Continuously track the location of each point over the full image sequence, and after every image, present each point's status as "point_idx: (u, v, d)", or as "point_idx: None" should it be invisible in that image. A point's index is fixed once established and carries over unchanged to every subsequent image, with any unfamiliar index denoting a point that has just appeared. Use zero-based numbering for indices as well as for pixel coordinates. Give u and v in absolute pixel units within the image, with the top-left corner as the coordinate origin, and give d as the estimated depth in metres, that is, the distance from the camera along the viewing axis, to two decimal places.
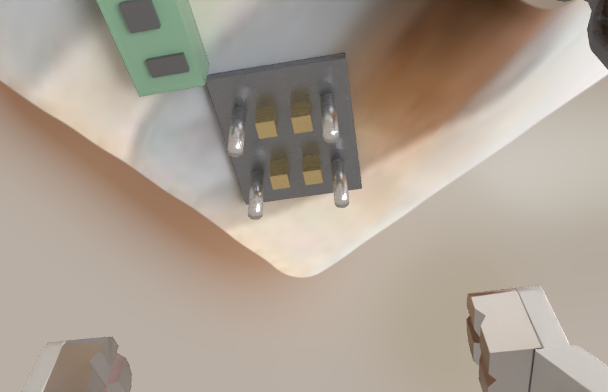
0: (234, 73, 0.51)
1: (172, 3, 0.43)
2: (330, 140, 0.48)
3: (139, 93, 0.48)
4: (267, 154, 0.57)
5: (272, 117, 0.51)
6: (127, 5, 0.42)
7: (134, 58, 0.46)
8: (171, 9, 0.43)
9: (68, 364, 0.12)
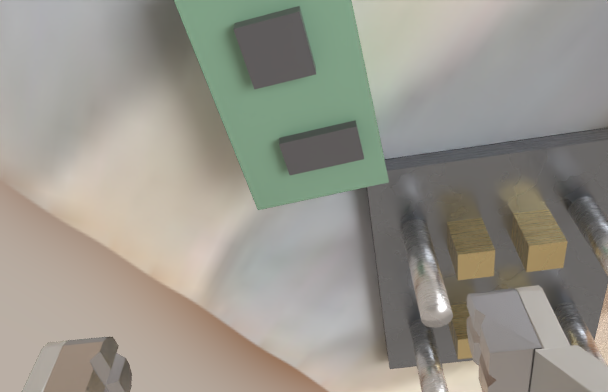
0: (419, 161, 0.27)
1: (345, 19, 0.20)
2: None
3: (258, 204, 0.25)
4: None
5: (488, 242, 0.27)
6: (251, 28, 0.19)
7: (255, 138, 0.23)
8: (342, 32, 0.20)
9: (68, 364, 0.12)
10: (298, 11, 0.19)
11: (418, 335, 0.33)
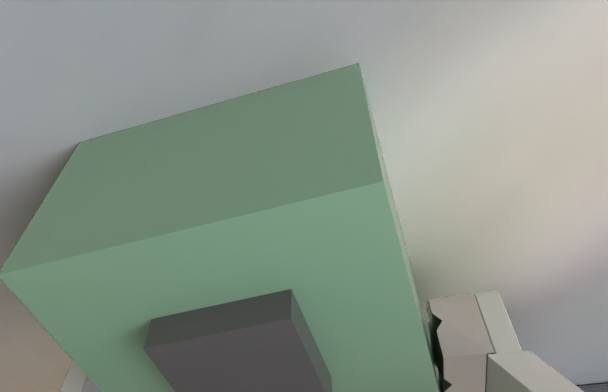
0: None
1: (395, 307, 0.09)
2: None
3: None
4: None
5: None
6: (184, 347, 0.09)
7: None
8: (387, 326, 0.09)
9: None
10: (288, 316, 0.08)
11: None
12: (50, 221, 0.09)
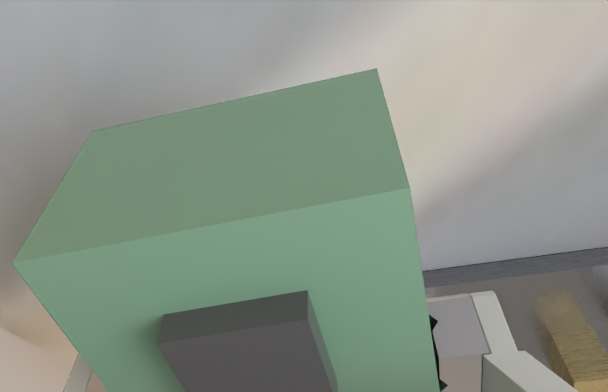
0: (441, 279, 0.23)
1: (407, 312, 0.09)
2: None
3: None
4: None
5: None
6: (197, 344, 0.08)
7: None
8: (397, 331, 0.09)
9: None
10: (305, 317, 0.08)
11: None
12: (64, 212, 0.09)
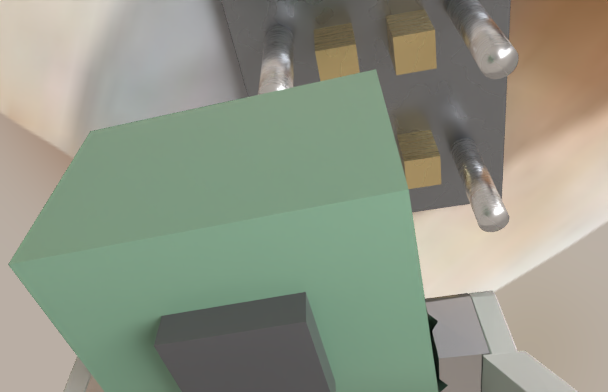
0: None
1: (406, 314, 0.09)
2: (495, 71, 0.21)
3: None
4: None
5: (351, 39, 0.24)
6: (195, 345, 0.08)
7: None
8: (395, 333, 0.09)
9: None
10: (303, 319, 0.08)
11: None
12: (62, 212, 0.09)
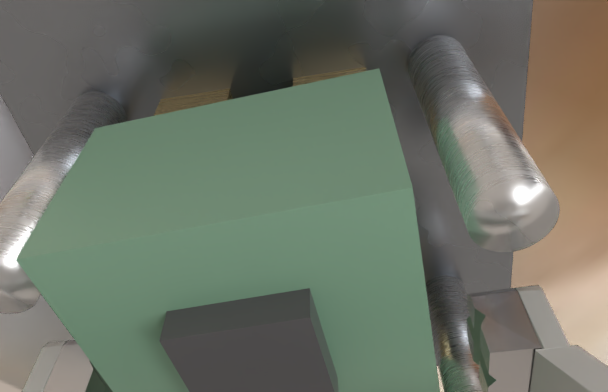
0: None
1: (407, 310, 0.09)
2: (503, 237, 0.09)
3: None
4: None
5: None
6: (200, 341, 0.09)
7: None
8: (398, 329, 0.09)
9: (68, 364, 0.12)
10: (307, 315, 0.08)
11: None
12: (69, 209, 0.09)
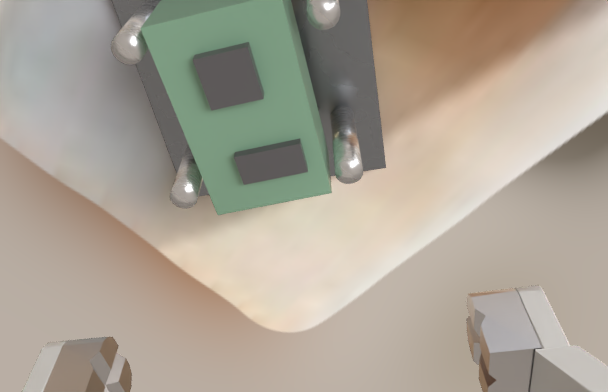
0: None
1: (287, 53, 0.23)
2: (322, 22, 0.23)
3: (218, 210, 0.28)
4: None
5: None
6: (207, 60, 0.23)
7: (214, 152, 0.26)
8: (285, 64, 0.24)
9: (68, 364, 0.12)
10: (246, 46, 0.23)
11: None
12: (156, 17, 0.24)
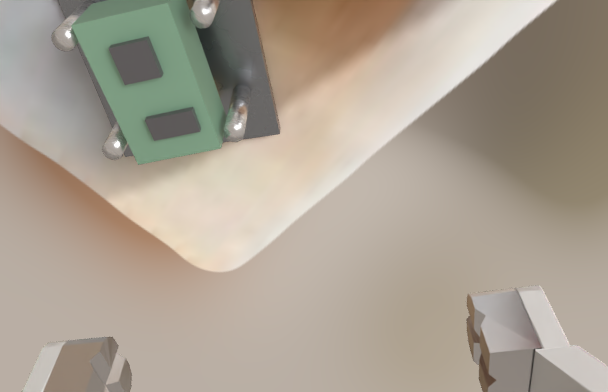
0: None
1: (177, 45, 0.33)
2: (201, 23, 0.33)
3: (138, 160, 0.38)
4: None
5: None
6: (119, 48, 0.32)
7: (131, 116, 0.36)
8: (176, 52, 0.33)
9: (68, 364, 0.12)
10: (146, 39, 0.32)
11: None
12: (84, 17, 0.33)
